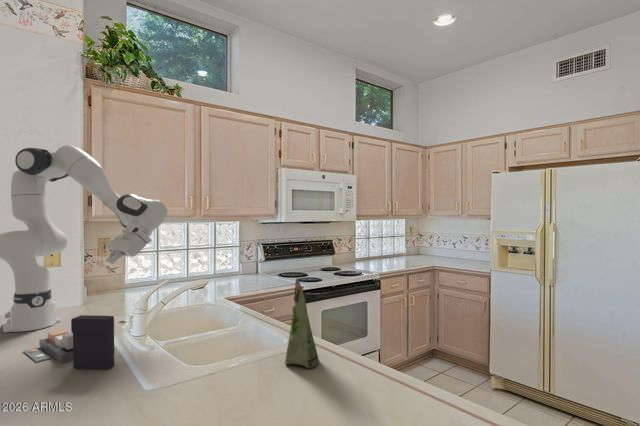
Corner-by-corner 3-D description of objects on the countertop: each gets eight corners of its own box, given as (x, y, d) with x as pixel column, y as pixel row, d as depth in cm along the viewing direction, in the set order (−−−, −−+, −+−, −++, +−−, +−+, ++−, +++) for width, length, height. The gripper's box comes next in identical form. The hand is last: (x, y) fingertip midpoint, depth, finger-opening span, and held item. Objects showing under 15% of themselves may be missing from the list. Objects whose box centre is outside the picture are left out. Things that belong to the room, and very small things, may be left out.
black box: (116, 364, 110) (115, 315, 110) (106, 371, 105) (106, 319, 105) (82, 363, 111) (81, 314, 111) (71, 369, 106) (70, 318, 106)
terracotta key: (48, 343, 125) (47, 332, 125) (63, 339, 129) (63, 329, 129) (52, 346, 122) (52, 335, 122) (68, 342, 126) (68, 331, 126)
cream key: (55, 348, 121) (54, 336, 121) (71, 344, 124) (70, 333, 124) (59, 351, 118) (59, 339, 118) (76, 347, 122) (75, 335, 122)
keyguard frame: (39, 347, 124) (39, 340, 124) (68, 340, 131) (68, 333, 131) (61, 363, 111) (61, 354, 111) (93, 354, 118) (93, 346, 118)
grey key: (62, 346, 116) (62, 334, 116) (78, 342, 120) (78, 330, 120) (67, 349, 114) (67, 337, 114) (84, 345, 117) (84, 333, 117)
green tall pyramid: (302, 374, 102) (301, 285, 102) (273, 363, 110) (272, 280, 109) (327, 362, 110) (326, 279, 110) (298, 352, 118) (298, 275, 118)
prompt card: (23, 352, 120) (23, 350, 120) (36, 348, 123) (36, 346, 123) (36, 362, 112) (36, 360, 112) (50, 358, 115) (50, 356, 115)
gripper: (117, 228, 147) (90, 255, 139) (142, 229, 134) (114, 259, 127) (128, 238, 150) (103, 265, 143) (154, 240, 138) (127, 270, 130)
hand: (108, 262), depth 135 cm, fingers closed
